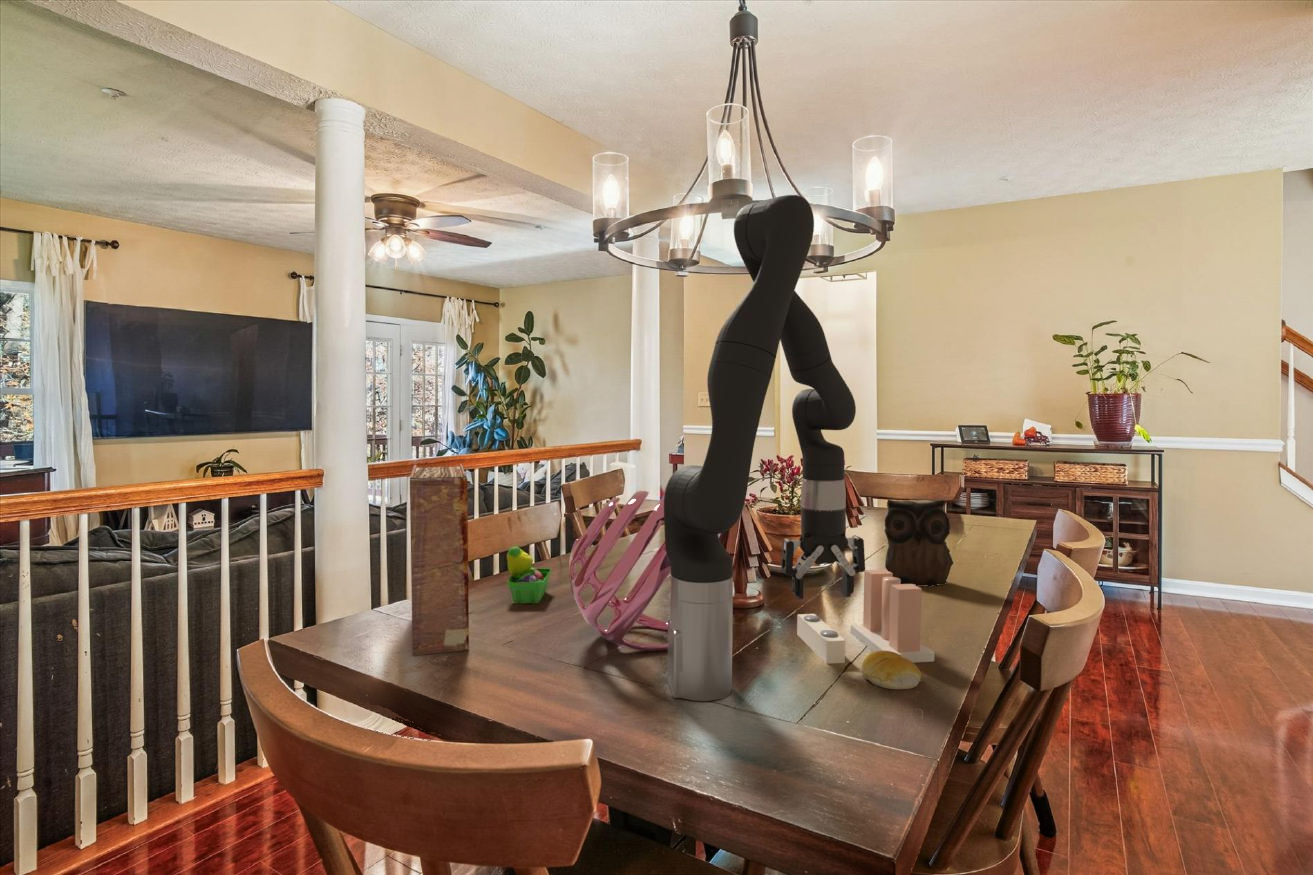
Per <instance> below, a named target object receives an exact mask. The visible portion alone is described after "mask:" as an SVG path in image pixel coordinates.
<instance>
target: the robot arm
mask: <svg viewBox="0 0 1313 875" xmlns="http://www.w3.org/2000/svg"><path fill="white" fill-rule="evenodd" d="M735 216H736V217H735V218H734V222H733V236H734V241H735V244H736V248H737V250H738V253H739V254H740V257H741V259H742V262H743V264H744V266H745V268H746V269H747V272H748V274H749V276H750V278H751V280H752V282H753V284H752V285H751V287H750V288H749V290H748V291H747V292H746V294H745V295H744V297H743V298H742V299H741V301H740V302H739V304H737V306H736V307H735V308H734V310H733V311H732V312H731V314H730V315H729V316H728V318H727V319H726V321H725V322H724V324H723V325H722V327H721V328H720V331H719V332H718V334H717V337H716V340H715V343H714V348H713V351H712V356H711V359H710V362H709V363H710V364H709V367H708V371H707V378H706V380H707V382H706V384H707V395H708V401H709V406H710V407H709V408H710V414H711V434H710V440H709V444H708V447H707V451H706V455H705V459H704V461H703V465H701V466H700V465H686V466H685V465H684V466H682V467H680V468H679V469H677V470H676V471H674V472H673V474H672V475H671V476H670V478H669V479H668V482H667V484H666V487H665V491H664V494H665V495H664V494H663V496H664V522H663V525H664V527H663V528H664V541H665V548H666V553H667V557H668V559H669V562H670V567H671V572H670V601H669V602H670V607H669V608H670V610H669V612H670V615H669V616H670V617H669V618H670V619H669V620H668V621H667V622H668V630H667V643H668V649H667V684H668V687H669V689H670V692H671V694H672V697H673V698H674V699H684V700H689V701H695V702H696V701H697V702H708V701H709V702H710V701H717V700H721V699H723V698H726V697H727V696H728V695H730V694H731V692H732V689H733V688H732V687H733V686H732V684H733V602H734V601H733V596H734V595H733V593H734V592H733V591H734V586H733V584H734V579H733V578H734V561H733V557H732V556H731V554H730V553H729V552H728V551H727V549H726V548H725V547H724V545H723V544H722V543H721V540H720V536H719V535H720V534H725V533H726V532H728V531H730V530H731V529H732V528H733V527H734V526H735V525H736V524H737V522H738V520H739V518H740V517H741V515H742V512H743V509H744V507H745V503H746V498H747V493H748V486H749V479H750V471H751V466H752V459H753V453H754V447H755V442H756V438H757V437H756V436H757V433H758V428H759V424H760V420H761V415H762V411H763V407H764V403H765V399H766V395H767V393H768V392H767V391H768V388H769V386H770V382H771V378H772V374H773V371H774V366H775V363H776V359H777V354H778V349H779V345H780V343H781V347H782V350H783V354H784V357H785V360H786V363H787V366H788V369H789V373H790V376H791V378H792V379H793V380H794V382H796V383H798V384H801V385H804V386H807V387H811V388H806V389H803V390H801V391H799V392H798V393H797V394H796V396H795V398H794V400H793V403H792V407H791V408H792V409H791V414H792V416H791V418H792V421H793V425H794V428H795V432H796V435H797V440H798V443H799V446H800V447H799V448H800V450H801V456H802V482H801V489H800V500H799V502H800V533H801V534H800V537H799V539H789V538H788V537H785V538H784V539H783V540H782V549H781V552H782V553H781V567H780V570H781V571H782V572H783V573H784V574H785V575H786V576H790V577H791V592H792V594H793V595H794V596H795V598H796V599H797V600H800V601H801V600H804V578H803V577H804V575H805V574H806V572H807V571H808V570H809V569H810V568H811V567H812V566H813V565H814V564H815V565H822V564H830V565H831V564H832V565H834V563H836V564H838V566H839V567H840V569H841V570H842V571H843V573H841V594H842V595H843V597H845V598H851V597H852V595H853V594H854V590H855V588H854V587H855V585H854V584H855V581H854V580H855V575H857V574H858V573H864V571H865V570H866V561H865V540H864V539H863V538H862V537H861V536H858V535H852V536H851V537H847V535H846V530H847V523H846V522H847V521H846V520H847V514H846V512H847V508H846V507H847V500H846V499H847V496H846V495H847V494H846V491H847V490H846V484H845V450H844V448H843V447H841V446H840V445H837V444H835V443H832V442H829V441H827V440H826V439H825V437H824V435H823V432H822V431H842V430H847V429H848V428H849V427H850V426H851V425H852V423H853V422H854V420H855V417H856V415H857V414H856V412H857V409H856V408H857V407H856V406H857V405H856V401H855V398H854V396H853V395H854V394H853V393H852V391H851V389H850V388H849V386H848V385H847V383H846V381H845V380H844V378H843V377H842V375H841V373H840V372H839V370H838V369H837V366H836V365H835V364H834V362H833V359H832V355H831V353H830V349H829V345H828V341H827V338H826V334H825V332H824V329H823V327H822V325H821V323H820V321H819V319H818V317H817V316H816V314H815V313H814V312H813V311H812V310H811V308H810V307H809V306H808V305H807V303H806V302H805V301H804V300H803V299H802V298H801V297H800V296H799V294H798V292H796V287H797V285H798V282H799V279H800V277H801V275H802V271H803V268H804V265H805V263H806V260H807V257H808V255H809V252H810V248H811V246H812V242H813V237H814V231H815V217H814V212H813V210H812V206H811V204H810V203H809V201H808V200H807V199H806V198H805V197H803V196H801V195H798V194H786V195H781V196H777V197H773V198H768V199H764V200H759V201H755V202H752V203H748V204H746V205H744V206H743V207H742V208H740V209H739V211H738V212H737V214H736V215H735ZM848 547H849V548H850V549H851V556H852V558H851V559H852V563H851V564H850V562H849V560H848V559H847V557H846V556H845V555H844V554H843V553H844V552H845V550H846V548H848ZM798 548H800V549H801V551H802V553H801V554H800V555H799V557H798V558H797V560H796V561H797V562H796V563H795V565H794V566H793V564H794V554H795V553H796V552H797V550H798Z"/></svg>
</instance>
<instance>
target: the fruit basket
mask: <svg viewBox="0 0 1313 875" xmlns="http://www.w3.org/2000/svg"><path fill="white" fill-rule="evenodd" d="M506 560H507V569H508V572H509V573H510V574H511V576H510V577H509V578H508V579H507V585H508V587H509V589H510V594H511V598H512V601H513V603H514V604H516V605H517V604H522V605H523V604H524V603H525V604H526V603H532V604H534V603H538V604H539V603H540V601H541V600H542V598H543V596H544V594H545V593H546V592H547V587H548V582H549V579H550V575H551V573H552V569H551V568H548V567H546V568H545V567H532V565H533V563H534V559H533V557H532V556H531V555H529V554H528V553H527V552H526V551H524V550H523V549H521V548H520V547H519V546H513V547H509V548H508V552H507V554H506Z"/></svg>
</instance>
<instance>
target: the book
mask: <svg viewBox="0 0 1313 875" xmlns="http://www.w3.org/2000/svg"><path fill="white" fill-rule="evenodd" d="M468 489H469V488H468V478H467V475H466V471H465V468H464V466H463V463H459V466H435V467H433V466H432V467H431V466H430V467H418V465H417V464H413V467H412V471H411V473H410V477H409V515H410V516H409V520H410V524H409V525H410V526H409V528H410V572H411V573H410V574H411V581H410V583H411V629H412V630H411V631H412V632H411V636H412V639H411V641H412V643H411V644H412V656H423V655H430V654H431V655H432V654H441V653H453V652H458V651H459V652H461V651H469V650H470V628H469V627H470V626H469V623H470V618H469V617H470V616H469V614H470V613H469V606H470V605H469V600H470V599H469V527H468V526H469V519H468V518H469V517H468V515H469V513H468V512H469V511H468V510H469V509H468V507H469V506H468V505H469V504H468V503H469V501H468V498H469V497H468V494H469V492H468Z"/></svg>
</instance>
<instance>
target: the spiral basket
mask: <svg viewBox="0 0 1313 875" xmlns="http://www.w3.org/2000/svg"><path fill="white" fill-rule="evenodd" d="M649 494H650V492H649V491H647V490H639V491H636V492H634V493H633V494H632V496H631V497H630V498H629V499H628V501H627V502H626V503H625V505H624V506H623V507H622V509H621V510H620V511H619V512H618V514H617V516H616V517H615V518H614V520H613V521H612V522H611V523H610V525H609V527H608V528H607V530H606V531H605V532H604V534H603V535H602V536H601V538H600V539H599V541H598V543H596V545H595V547H594V548H593V549H592V551H591V553H590V554H589V556H588V557H587V551H588V549H589V547H590V546H591V544H593V542H594V541H595V539H596V538H597V536H598V535H599V534H600V532H601V530H602V529H603V528H604V526H605V525H606V524H607V522H608V520H609V519H610V517H611V516H612V514H613V513H614V511H615V509H616V508H617V507H618V505H619V504H620V501H621V497H614V498H612V499H610V500H609V501H607V503H605V504H604V506H603V507H602V508H601V510H600V511H599V512H598V513H597V515H596V516H595V517H594V518H593V520H592V522H591V523H590V524H589V526H588V527H587V528H586V530H585V532H584V533H583V534H582V535H581V534H580V535H579V538H576V539H575V541H574V542H573V544H572V548H571V551H570V556H569V563H568V564H569V566H568V569H569V570H568V571H569V583H570V584H569V585H570V591H571V595H572V596H573V599H574V601H575V603H576V605H577V607H578V609H579V611H580V613H581V614H582V618H583V619H584V620H585V622H586V623H587V624H588V625H590V626H591V627H592V628H593V629H594V630H596V631H597V632H598V633H599V634H600V635H601V636H602V637H603V638H604V639H606V640H607V641H608V642H610V643H612V644H616V645H618V646H621V647H624V648H628V649H631V650H635V651H640V652H641V651H642V652H656V651H657V652H658V651H665V650H668V642H667V643H662V644H639V643H635V642H631V641H628V640H626V639H624V638H625V636H626V635H627V634H628V632H630V630H631V629H632V627H633V626H634V625H635V624H638V625H641V626H645V627H647V628H652V629H657V630H663V631H668V621H665V620H662V619H657V618H654V617H652V616H649V615H646V614H645V613H643V612H644V611H645V610H646V608H647V607H648V606H649V605H650V602H652V600H653V599H654V597H655V596H656V594H657V592H658V591H659V590H660V589H661V587H662V585H663V584H664V583H665V581H666V579H667V578H668V577H669V575H671V567H670V562H669V559H668V557H667V553H666V548H665V540H664V541H663V543H662V544H661V546H660V547H659V548H658V550H657V551H656V552H655V554H654V556H653V557H652V559H651V560H650V562H649V563H648V565H646V567H645V569H644V570H643V572H642V573H641V574H640V576H639V578H638V579H637V581H636V582H635V583H634V585H633V587H632V588H631V589H630V591H629V592H628V594H627V596H626V597H625V598H623V599H621V598H619V597H617V595H616V593H617V592H618V590H619V589H620V587H621V586H622V584H623V583H624V582H625V580H626V578H627V577H628V576H629V574H630V573H631V571H632V570H633V568H634V567H635V566H636V565H637V562H638V561H639V560H640V558H641V557H642V555H643V554H644V552H645V550H646V549H647V548H648V546H649V545H650V544H651V542H652V540H653V539H654V537H655V536H656V534H657V532H658V531H659V530H660V528H661V527H662V525H664V495H665V493H664V494H663V496H662V497H661V499H660V500H659V502H658V503H657V504H656V506H655V508H653V510H652V512H651V513H650V514H649V516H648V518H647V519H646V520H645V522H644V523H643V525H642V526H641V528H640V529H639V531H638V532H637V534H636V535H635V536H634V538H633V539H632V540H631V542H630V543H629V545H628V547H627V548H626V549H625V551H624V553H623V554H622V555H621V556H620V558H619V560H618V561H617V562H616V564H615V566H614V567H613V569H612V570H611V572H609V574H608V576H607V577H606V579H604V580H602V581H601V580H600V578H599V577H598V574H597V572H598V569H599V568H600V566H602V564H603V562H604V561H605V559H606V558H607V556H608V555H609V554H610V552H612V549H613V548H614V546H615V545H616V544H617V542H618V540H619V539H620V538H621V537H622V535H623V533H624V532H625V530H626V529H627V528H628V526H629V525H630V524H631V522H632V520H633V518H634V517H636V516H635V515H636V514H637V513H638V511H639V510H640V509H641V507H642V505H643V504H644V502H645V501H646V499H647V497H648V496H649ZM578 562H579V563H580V569H579V571H578V572H577V574H576V565H577V563H578ZM587 585H590V587H591V588H592V591H593V592H594V594H593V597H592V599H591V600H590V602H589V603H588V605H587V606H586V604H585V603H584V601H583V599H582V596H581V593H582V592H583V590H584V589H585V587H586V586H587ZM606 607H609V608H610V609H612V610H613V612H614V616H613V618H612V620H611V622H610V623H609V625H608V626H607V628H605V627H603V625H601V624H600V623H599V621H598V618H599V617H600V615H601V614H602V613H603V612H604V610H605V608H606Z"/></svg>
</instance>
